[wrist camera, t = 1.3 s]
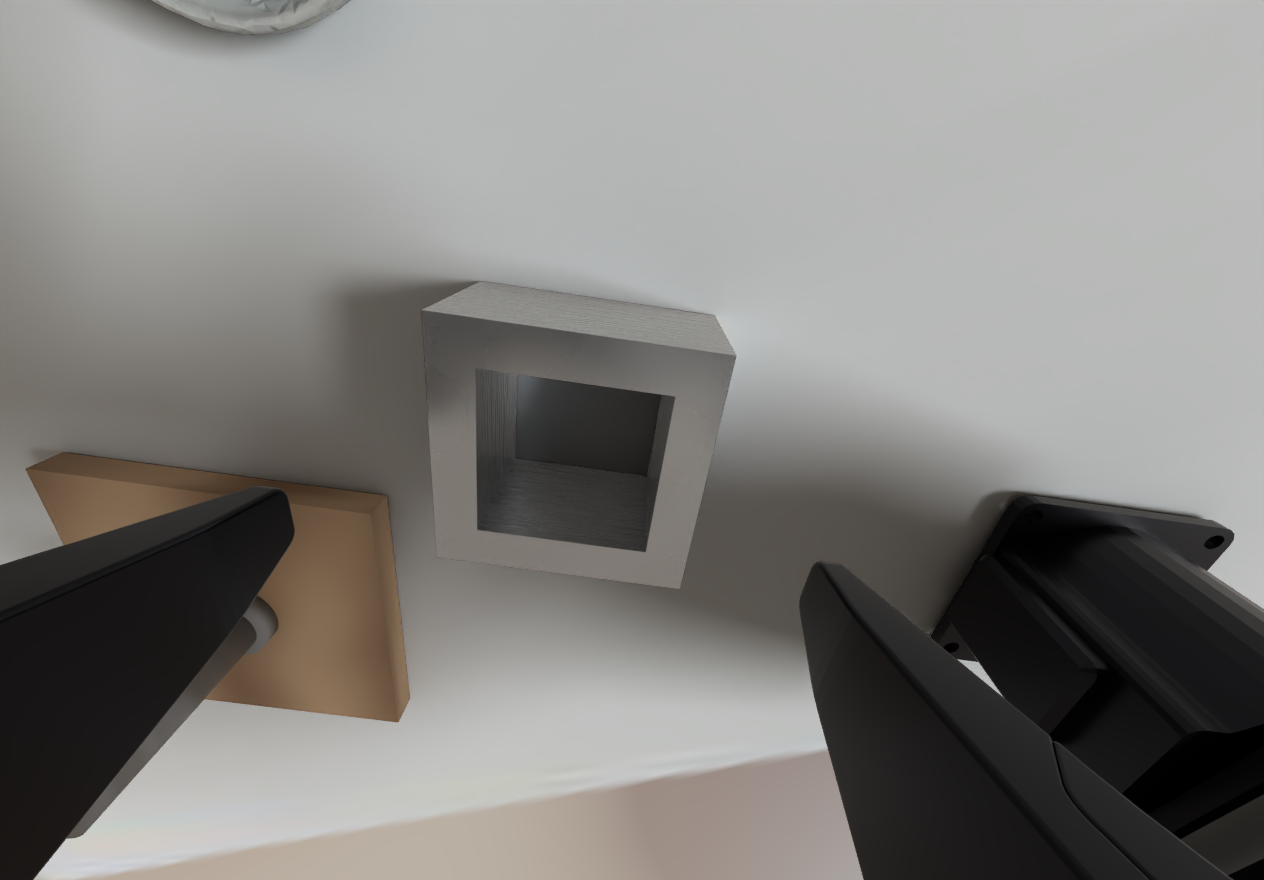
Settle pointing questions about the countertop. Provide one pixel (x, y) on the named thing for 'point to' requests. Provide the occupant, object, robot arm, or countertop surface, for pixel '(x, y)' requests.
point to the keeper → (262, 595)
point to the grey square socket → (554, 493)
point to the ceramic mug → (254, 13)
